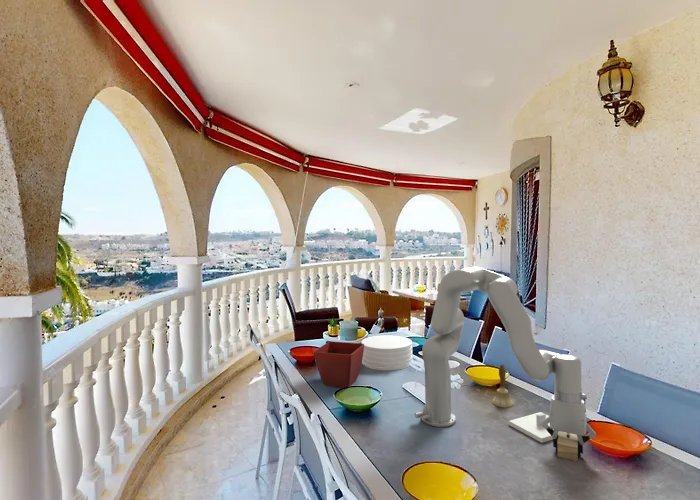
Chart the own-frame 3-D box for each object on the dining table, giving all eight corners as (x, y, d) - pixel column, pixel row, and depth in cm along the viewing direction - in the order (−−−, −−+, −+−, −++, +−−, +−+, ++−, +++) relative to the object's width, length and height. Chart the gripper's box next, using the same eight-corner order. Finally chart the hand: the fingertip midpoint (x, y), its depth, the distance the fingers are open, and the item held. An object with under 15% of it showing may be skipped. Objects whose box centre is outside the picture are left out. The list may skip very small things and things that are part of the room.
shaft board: (541, 442, 131) (541, 428, 131) (509, 424, 144) (508, 411, 144) (574, 432, 137) (574, 417, 137) (540, 415, 150) (540, 402, 150)
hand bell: (515, 408, 157) (515, 368, 157) (493, 406, 159) (493, 367, 159) (511, 399, 166) (511, 361, 165) (490, 398, 167) (490, 361, 167)
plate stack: (378, 351, 239) (378, 333, 239) (421, 359, 223) (420, 339, 222) (351, 364, 216) (351, 343, 216) (396, 374, 200) (396, 351, 199)
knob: (577, 461, 120) (577, 443, 120) (557, 456, 123) (557, 438, 123) (578, 450, 126) (578, 432, 126) (558, 445, 129) (558, 429, 129)
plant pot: (313, 386, 185) (312, 351, 185) (330, 373, 203) (329, 340, 202) (351, 391, 178) (350, 354, 177) (365, 377, 196) (365, 343, 195)
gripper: (599, 396, 123) (599, 453, 123) (538, 386, 131) (539, 440, 132) (600, 405, 116) (600, 465, 117) (536, 394, 125) (536, 451, 126)
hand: (567, 451), depth 124 cm, fingers closed on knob, 5 cm apart
